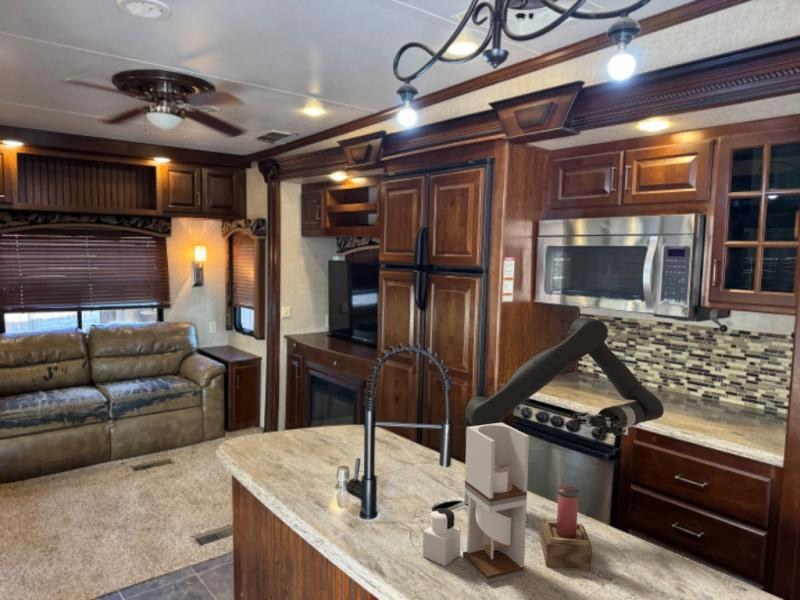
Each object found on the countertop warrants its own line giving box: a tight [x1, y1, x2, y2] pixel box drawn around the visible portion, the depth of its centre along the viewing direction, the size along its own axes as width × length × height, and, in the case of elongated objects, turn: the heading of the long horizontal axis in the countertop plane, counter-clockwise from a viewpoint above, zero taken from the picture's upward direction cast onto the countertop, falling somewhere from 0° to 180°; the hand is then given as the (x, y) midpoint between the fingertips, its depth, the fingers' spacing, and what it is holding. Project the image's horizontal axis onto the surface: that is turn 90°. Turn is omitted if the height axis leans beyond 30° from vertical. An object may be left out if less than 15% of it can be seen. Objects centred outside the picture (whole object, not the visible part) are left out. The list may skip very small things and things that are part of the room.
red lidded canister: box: [556, 484, 580, 539], centre depth 144 cm, size 5×5×12 cm
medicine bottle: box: [422, 507, 462, 567], centre depth 144 cm, size 7×7×12 cm
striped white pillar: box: [462, 422, 530, 585], centre depth 138 cm, size 11×11×35 cm
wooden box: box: [540, 520, 593, 571], centre depth 145 cm, size 11×11×7 cm
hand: (584, 427), depth 157 cm, fingers open, 8 cm apart
